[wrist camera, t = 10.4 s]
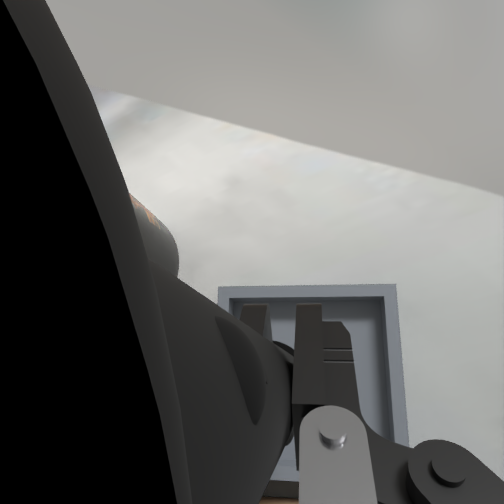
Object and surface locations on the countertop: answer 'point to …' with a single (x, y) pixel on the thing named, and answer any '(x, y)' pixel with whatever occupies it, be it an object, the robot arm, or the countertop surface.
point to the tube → (110, 319)
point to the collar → (278, 500)
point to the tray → (363, 346)
